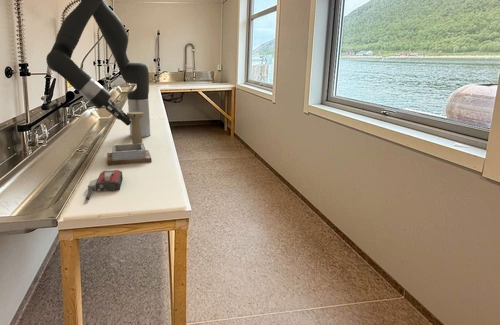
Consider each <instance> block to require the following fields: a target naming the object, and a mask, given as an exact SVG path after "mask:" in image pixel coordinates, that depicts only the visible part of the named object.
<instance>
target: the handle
mask: <svg viewBox="0 0 500 325" xmlns="http://www.w3.org/2000/svg"><path fill="white" fill-rule="evenodd" d="M126 115H127V116H128V117H129V118H131V121H132V136H131V142H132V144H137V143H143V137H142V131H141V123H140V118H141V117H143V116H144V113H143V112H129V111H128V112H126Z"/></svg>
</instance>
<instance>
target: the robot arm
mask: <svg viewBox="0 0 500 325" xmlns="http://www.w3.org/2000/svg"><path fill="white" fill-rule="evenodd" d="M92 17H93V19H94V21H95V23H96V24H97V26H98V28H99V30H100V33H101V34H102V37H103V39H104V40H105V43H106V44H107V46H108V47H109V50H110V51H111V54H112V56H113V58H114V60H115V62H116V65H117V68H118V70H119V72H120V75H121V78H122V79H123V81H125V83H126V84H133V85H135V84H136V88H135V89H134V90H131V91H128V92H127V105H128V112H143V113H144V116H143V117H141V118H140V123H141V131H142V138H144V137H145V138H146V137H149V136H151V120H150V119H151V118H150V106H149V93H150V72H149V68H148V66H147V65H146V64H145V63H143V62H141V63H140V62H132V61H130V60H129V58H128V55H127V51H128V50H127V48H128V44H129V35H128V32H127V30H126V28H125V26H124V24H123V22H122V21H121V19H120V18H119V16H117V14H116V13H115V12H114V11H113V10H112V8H110V6H108V4H107V3H106V2H105V0H81V1H80V2H79V3H78V4H77V5H76V6H75V8H74V9H73V10H72V11H71V12H70V13H69V14H68V15H66V17H65V18H64V20H63V22H62V23H61V25H60V28H59V30H58V33H57V34H56V38H55V42H54V43H53V46H52V48H51V50H50V52H48V54H47V55H46V65H47V67H48V68H49V69H50V70H51V71H53V72H55V73H57V74H58V75H60V77H63V79H65V80H66V82H67V83H68V84H69V85H70V86H71V87H73V88H74V89H75V90H76V91H77V92H78V93H79V94H80V95H81V96H82V97H83V98H85V100H87V101H88V102H90V103H91V104H92V105H93V106H94V107H95V108H97V109H100V110H101V109H102V108H103V106H104V107H105V110H106V111H107V112H108V113H110V115H112V116H113V117H115V118H116V120H120V121H121V122H122V123H123V124H125V125H126V126H129V133H130V134H129V135H130V137H132V121H131V118H129V117H128V116H127V113H125V112H124V110H123V109H122V108H121V107H120V106H119V105H118V104H117V103H116V102H115V101H113V100H112V99H111V98H112V95H113V94H112V93H111V92H110V91H109V90H107V89H106V87H104V86H103V85H101V83H99V82H98V81H97V80H95V79H94V78H92V77H91V76H90V75H89V74H88V73H87V72H85V70H82V69H81V68H80V67H79V66H78V64H76V63H75V62H74V61H73V60H72V56H73V53H74V50H75V49H76V47H77V45H78V44H79V42H80V40H81V37H82V34H83V33H84V30H85V28H86V26H87V25H88V22H90V19H91V18H92Z"/></svg>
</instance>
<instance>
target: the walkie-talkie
mask: <svg viewBox="0 0 500 325" xmlns="http://www.w3.org/2000/svg"><path fill="white" fill-rule="evenodd" d="M123 179H124V177H123V171H122V170H119V169H115V170H111V169H110V170H103V171H102V172H100V174H99V176H98V178H95V179H93V180H91V181H89V183H88V185H87V194H86V195H85V200H87V201H89V200H90V199H91V196H92V194H93V192H94V193H95V192H97V193H100V192H101V193H102V192H117V191H118V192H119V191H120V190H121V187H122V184H123V183H122V182H123Z"/></svg>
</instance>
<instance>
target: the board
mask: <svg viewBox="0 0 500 325" xmlns="http://www.w3.org/2000/svg"><path fill="white" fill-rule="evenodd" d="M145 150H146V158H144V159H131V160H117V161H113V158H112V152H107V157H106V158H107V162H106V163H107V166H119V165H130V164H142V163H143V164H144V163H145V164H146V163H152V162H153V161H152V156H151V154H150V150H148V149H145Z"/></svg>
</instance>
